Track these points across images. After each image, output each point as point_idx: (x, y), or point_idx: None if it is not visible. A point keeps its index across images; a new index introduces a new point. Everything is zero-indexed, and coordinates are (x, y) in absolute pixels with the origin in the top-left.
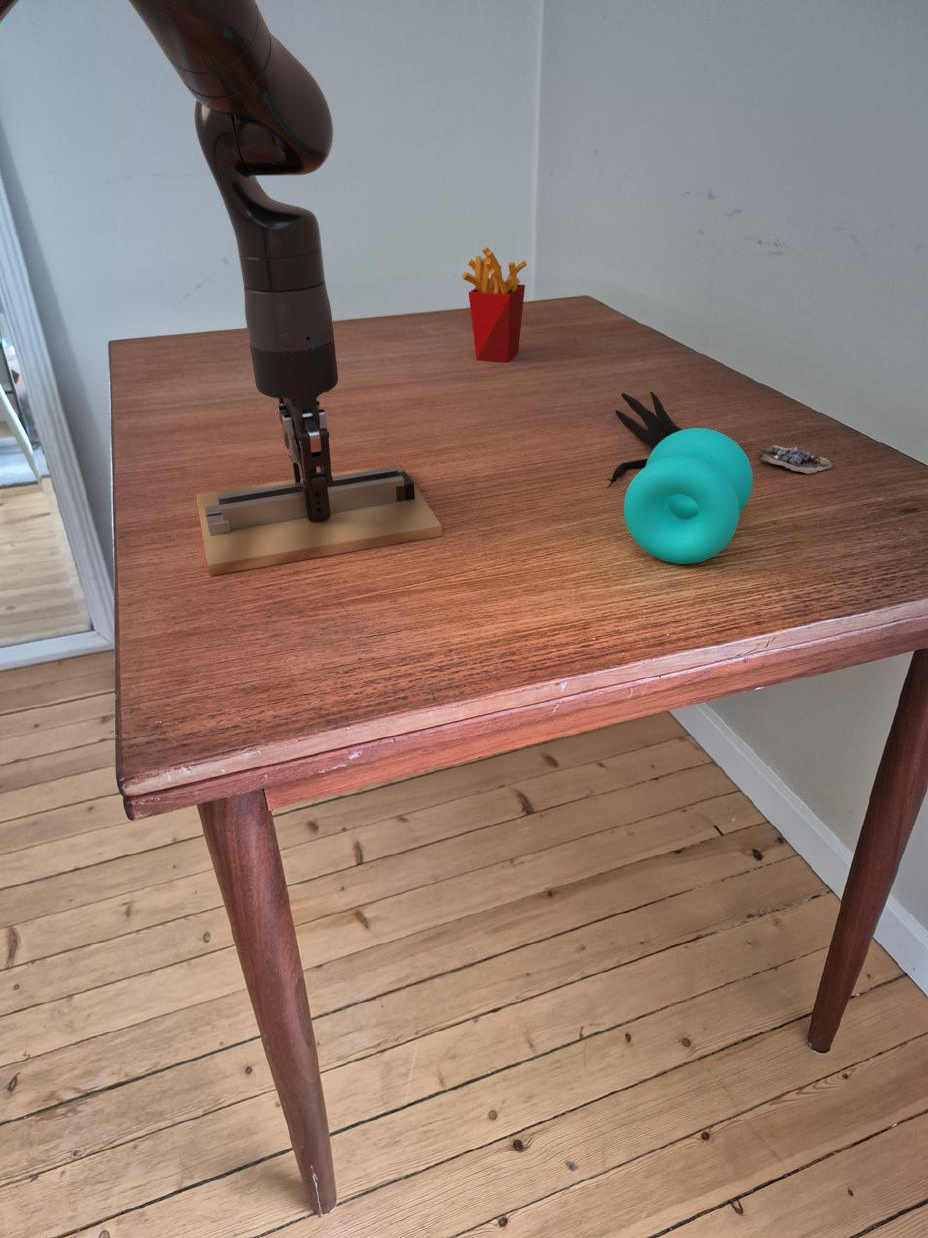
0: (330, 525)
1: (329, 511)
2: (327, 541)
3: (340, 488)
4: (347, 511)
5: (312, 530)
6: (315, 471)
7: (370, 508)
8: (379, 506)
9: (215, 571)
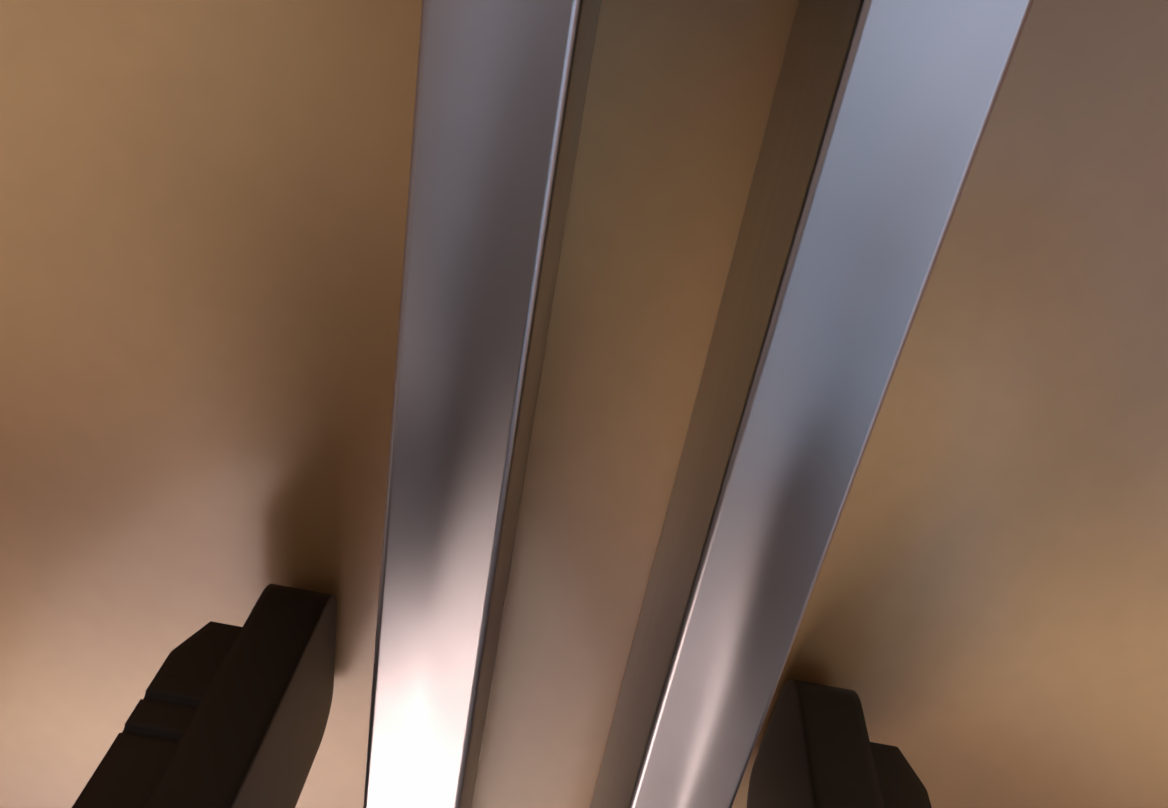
0: (929, 692)
1: (865, 734)
2: (1165, 797)
3: (752, 702)
4: None
5: None
6: (243, 787)
7: None
8: None
9: None
